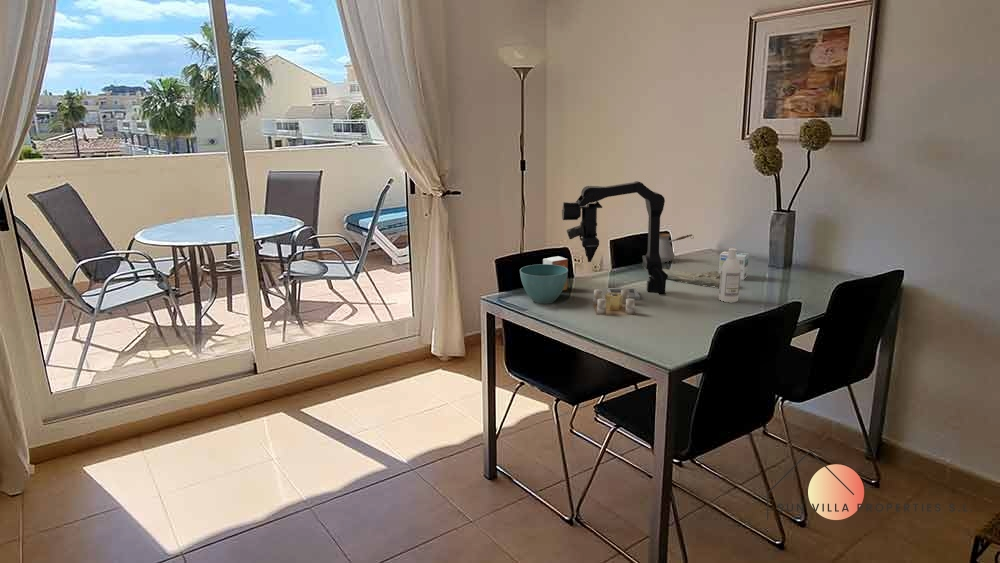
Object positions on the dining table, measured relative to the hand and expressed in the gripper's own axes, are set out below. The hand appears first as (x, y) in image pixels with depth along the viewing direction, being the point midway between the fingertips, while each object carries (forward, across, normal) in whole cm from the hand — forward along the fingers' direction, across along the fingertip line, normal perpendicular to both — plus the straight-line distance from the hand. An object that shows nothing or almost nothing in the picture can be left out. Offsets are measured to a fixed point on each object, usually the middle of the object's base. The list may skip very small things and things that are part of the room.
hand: (588, 259), depth 242 cm
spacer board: (+14, +20, +8) cm, 26 cm away
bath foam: (+15, +7, +52) cm, 55 cm away
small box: (+14, -7, -13) cm, 21 cm away
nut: (+14, +20, +8) cm, 25 cm away
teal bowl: (+14, +8, -18) cm, 24 cm away
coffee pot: (+15, -54, +44) cm, 71 cm away
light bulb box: (+15, -26, +64) cm, 71 cm away
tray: (+14, +4, +13) cm, 20 cm away
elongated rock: (+15, -20, +46) cm, 52 cm away
